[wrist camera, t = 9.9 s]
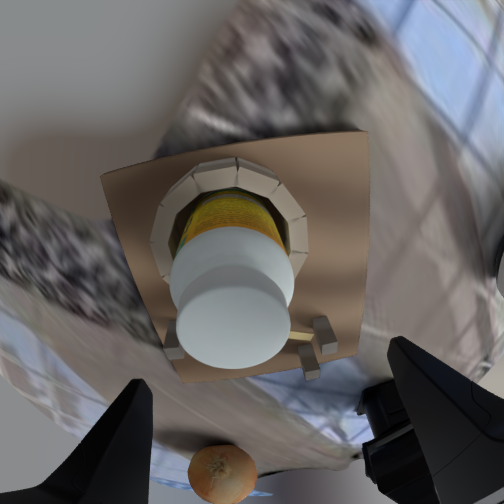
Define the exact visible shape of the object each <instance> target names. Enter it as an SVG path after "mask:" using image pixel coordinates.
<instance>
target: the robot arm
mask: <svg viewBox="0 0 504 504" xmlns="http://www.w3.org/2000/svg"><path fill="white" fill-rule="evenodd" d="M387 358H388V361H389V364H390V367H391V370H392V373H393V377H394V380H393V381H390V382H387V383H384V384H381V385H378V386H375V387H372V388H368V389H366V390H364V391H363V392H362V396H361V399H360V403H359V406H358V410H357V415H363V414H366V416H367V419H368V421H369V424H370V427H371V429H372V432H373V435H374V439H372V440H370V441H368V442H365V443H363V444H362V446H363V448H362V451H363V455H364V460H365V473H366V476H367V477H369V478H371V480H372V481H373V483H374V484H377V486H378V490H379V491H380V492H381V493H382V494H384V495H386V496H387V497H389V498H390V499H392V500H393V501H395V502H396V503H398V504H504V399H502V398H500V397H498V396H496V395H494V394H493V393H491V392H489V391H487V390H486V389H484V388H482V387H480V386H479V385H477V384H476V383H474V382H473V381H471V380H470V379H468V378H467V377H465V376H464V375H462V374H460V373H459V372H457V371H456V370H454V369H453V368H451V367H450V366H448V365H447V364H445V363H444V362H442V361H440V360H439V359H437V358H436V357H434V356H433V355H431V354H430V353H428V352H426V351H425V350H423V349H422V348H420V347H419V346H417V345H416V344H414V343H412V342H411V341H409V340H408V339H406V338H405V337H403V336H398V337H394V338H392V339H391V340H390V344H389V348H388V352H387ZM152 437H153V395H152V392H151V390H150V388H149V387H148V385H147V384H146V382H145V381H144V380H143V379H132V380H131V381H130V382H129V383H128V385H127V386H126V387H125V388H124V389H123V391H122V392H121V393H120V394H119V395H118V397H117V398H116V399H115V400H114V402H113V403H112V404H111V405H110V406H109V408H108V409H107V410H106V411H105V413H104V414H103V415H102V416H101V417H100V419H99V420H98V421H97V422H96V424H95V425H94V426H93V427H92V429H91V430H90V431H89V432H88V433H87V435H86V436H85V437H84V438H83V440H82V441H81V443H79V444H78V446H77V447H76V448H75V449H74V451H73V452H72V453H71V454H70V455H69V456H68V458H67V459H66V460H65V461H64V462H63V463H62V464H61V465H60V466H59V467H58V468H57V469H56V470H55V471H54V472H53V473H52V474H51V475H50V476H49V477H48V478H47V479H46V480H45V481H44V482H42V483H41V484H39V485H37V486H35V487H32V488H28V489H23V490H17V491H11V492H5V493H0V504H148V495H149V475H150V461H151V448H152Z"/></svg>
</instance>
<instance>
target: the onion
mask: <svg viewBox="0 0 504 504" xmlns="http://www.w3.org/2000/svg"><path fill="white" fill-rule="evenodd" d="M188 478H189V483H190V485H191V487H192V488H193V490H194V492H195V493H196V494H197V495H198V496H199V497H201V498H202V499H203V500H205V501H207V502H210V503H213V504H236V503H238V502H240V501H241V500H243V499H244V498H245V497H247V496H248V495H249V494H250V492H251V491H252V490H253V489H254V487H255V485H256V480H257V470H256V466H255V463H254V461H253V459H252V458H251V457H250V456H249V455H248V454H247V453H246V452H245V451H244V450H242V449H240V448H238V447H237V446H234V445H218V446H209V447H205V448H203V449H201V450H199V451H198V452H197V453H195V454H194V456H193V457H192V459H191V462H190V465H189V468H188Z"/></svg>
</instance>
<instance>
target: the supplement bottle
mask: <svg viewBox="0 0 504 504" xmlns="http://www.w3.org/2000/svg"><path fill="white" fill-rule="evenodd" d="M169 285H170V292H171V296H172V300H173V302H174V304H175V306H176V308H177V310H178V312H177V319H176V333H177V337H178V340H179V342H180V344H181V345H182V347H183V348H184V350H185V351H186V352H187V353H188V354H189V355H191V356H192V357H193V358H195V359H196V360H198V361H200V362H202V363H204V364H207V365H210V366H213V367H218V368H225V369H241V368H247V367H252V366H255V365H258V364H260V363H263V362H265V361H267V360H268V359H270V358H272V357H273V356H275V355H276V354H277V353H278V352H279V351H280V350H281V349H282V347H283V346H284V345H285V343H286V341H287V339H288V337H289V334H290V326H291V323H290V316H289V312H288V309H287V308H288V306H289V304H290V301H291V299H292V295H293V291H294V274H293V269H292V266H291V263H290V260H289V258H288V255H287V253H286V250H285V248H284V245H283V243H282V241H281V238H280V235H279V233H278V230H277V228H276V225H275V223H274V220H273V218H272V215H271V213H270V211H269V209H268V208H267V206H266V205H265V204H264V203H263V202H262V201H261V200H260V199H259V198H258V197H257V196H255V195H254V194H252V193H250V192H248V191H246V190H243V189H239V188H223V189H218V190H214V191H212V192H210V193H208V194H207V195H205V196H204V197H203V198H202V199H201V200H199V201H198V202H197V204H196V205H195V206H194V208H193V209H192V211H191V213H190V215H189V218H188V221H187V224H186V226H185V229H184V232H183V235H182V238H181V241H180V244H179V246H178V249H177V252H176V255H175V258H174V261H173V264H172V268H171V272H170V284H169Z"/></svg>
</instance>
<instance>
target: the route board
mask: <svg viewBox="0 0 504 504" xmlns="http://www.w3.org/2000/svg"><path fill="white" fill-rule="evenodd" d="M100 178H101V181H102V185H103V189H104V193H105V196H106V199H107V203H108V206H109V209H110V213H111V216H112V219H113V222H114V225H115V228H116V231H117V234H118V237H119V240H120V243H121V246H122V248H123V251H124V254H125V257H126V259H127V262H128V265H129V267H130V270H131V273H132V275H133V278H134V280H135V283H136V285H137V288H138V290H139V292H140V295H141V297H142V300H143V302H144V304H145V307H146V309H147V311H148V313H149V316H150V318H151V320H152V322H153V324H154V327H155V329H156V331H157V333H158V335H159V337H160V339H161V341H162V344H163V350H164V352H165V354H166V356H167V358H168V360H171V362H172V363H173V365H174V367H175V369H176V371H177V373H178V375H179V377H180V379H181V380H182V382H183V383H193V382H205V381H215V380H225V379H233V378H241V377H248V376H255V375H262V374H268V373H274V372H280V371H286V370H291V369H296V368H301V367H302V369H303V373H304V377H305V380H306V381H307V380H312V379H316V378H320V367H319V364H320V363H325V362H329V361H333V360H337V359H342V358H346V357H350V356H353V355H357V350H358V343H359V337H360V330H361V322H362V315H363V306H364V297H365V287H366V276H367V263H368V247H369V223H370V167H369V143H368V132H367V131H362V130H354V131H335V132H320V133H308V134H298V135H288V136H279V137H271V138H264V139H256V140H250V141H243V142H237V143H231V144H225V145H219V146H214V147H208V148H203V149H198V150H193V151H188V152H184V153H179V154H175V155H170V156H166V157H162V158H158V159H154V160H150V161H146V162H142V163H139V164H135V165H131V166H128V167H124V168H120V169H117V170H114V171H110V172H107V173H105V174H103V175H101V176H100ZM223 188H239V189H243V190H246V191H248V192H250V193H252V194H254V195H255V196H257V197H258V198H259V199H260V200H261V201H262V202H263V203H264V204H265V205H266V206H267V208H268V209H269V211H270V213H271V215H272V218H273V220H274V223H275V225H276V228H277V230H278V233H279V235H280V238H281V241H282V243H283V245H284V248H285V250H286V253H287V255H288V258H289V260H290V263H291V266H292V269H293V274H294V291H293V295H292V299H291V301H290V304H289V306H288V308H287V309H288V312H289V316H290V323H291V326H290V334H289V337H288V339H287V341H286V343H285V345H284V346H283V347H282V349H281V350H280V351H279V352H278V353H277V354H276V355H275V356H273V357H272V358H270V359H268V360H267V361H265V362H263V363H260V364H258V365H255V366H252V367H247V368H241V369H225V368H218V367H213V366H210V365H207V364H204V363H202V362H200V361H198V360H196V359H195V358H193V357H192V356H191V355H189V354H188V353H187V352H186V351H185V350H184V348H183V347H182V345H181V344H180V342H179V340H178V337H177V333H176V319H177V312H178V310H177V308H176V306H175V304H174V302H173V300H172V296H171V292H170V285H169V284H170V272H171V268H172V264H173V261H174V258H175V255H176V252H177V249H178V246H179V244H180V241H181V238H182V235H183V232H184V229H185V226H186V224H187V221H188V218H189V215H190V213H191V211H192V209H193V208H194V206H195V205H196V204H197V202H198V201H199V200H201V199H202V198H203V197H204V196H205V195H207V194H208V193H210V192H212V191H214V190H218V189H223Z"/></svg>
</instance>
